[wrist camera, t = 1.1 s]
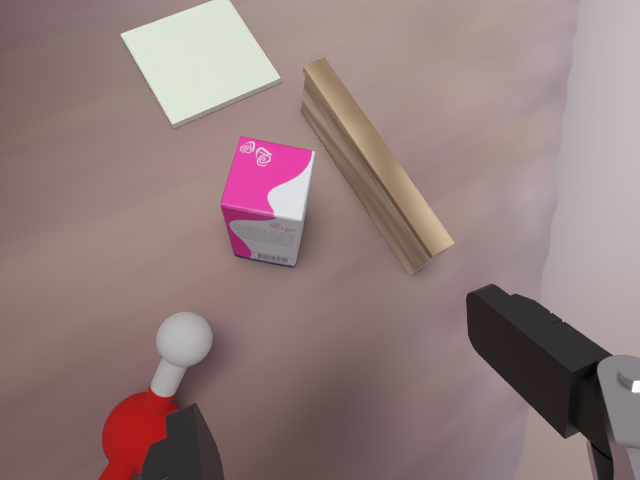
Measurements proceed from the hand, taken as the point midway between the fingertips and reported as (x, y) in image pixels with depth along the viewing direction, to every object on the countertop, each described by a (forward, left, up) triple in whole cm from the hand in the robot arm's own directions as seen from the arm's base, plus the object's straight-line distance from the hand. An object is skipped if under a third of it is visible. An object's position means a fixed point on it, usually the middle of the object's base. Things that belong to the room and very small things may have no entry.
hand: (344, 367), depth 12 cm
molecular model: (-11, +3, -27) cm, 29 cm away
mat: (+8, +33, -27) cm, 43 cm away
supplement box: (+5, +13, -27) cm, 30 cm away
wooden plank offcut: (+15, +13, -27) cm, 33 cm away
